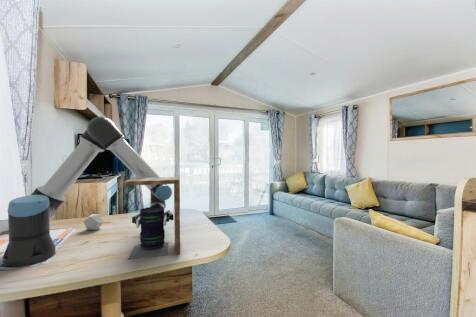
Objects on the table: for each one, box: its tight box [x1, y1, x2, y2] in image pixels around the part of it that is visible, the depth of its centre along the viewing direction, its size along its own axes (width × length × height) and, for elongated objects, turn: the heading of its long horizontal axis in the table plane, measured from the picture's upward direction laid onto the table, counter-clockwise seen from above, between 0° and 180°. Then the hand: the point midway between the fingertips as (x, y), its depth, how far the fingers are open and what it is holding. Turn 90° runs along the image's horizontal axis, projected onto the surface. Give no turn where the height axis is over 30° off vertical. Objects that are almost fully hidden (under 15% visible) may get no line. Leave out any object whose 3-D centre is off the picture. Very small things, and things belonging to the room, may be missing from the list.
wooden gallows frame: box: [123, 176, 181, 256], centre depth 94 cm, size 20×14×30 cm
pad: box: [127, 241, 169, 260], centre depth 94 cm, size 14×13×1 cm
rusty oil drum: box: [139, 206, 166, 249], centre depth 97 cm, size 10×10×15 cm
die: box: [83, 213, 104, 231], centre depth 123 cm, size 8×9×10 cm
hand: (151, 223), depth 93 cm, fingers closed on rusty oil drum, 10 cm apart
